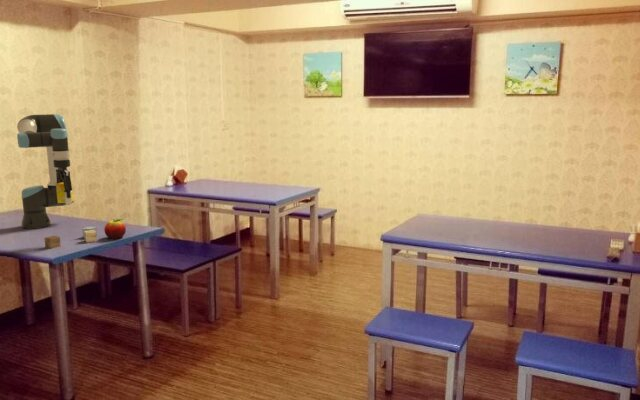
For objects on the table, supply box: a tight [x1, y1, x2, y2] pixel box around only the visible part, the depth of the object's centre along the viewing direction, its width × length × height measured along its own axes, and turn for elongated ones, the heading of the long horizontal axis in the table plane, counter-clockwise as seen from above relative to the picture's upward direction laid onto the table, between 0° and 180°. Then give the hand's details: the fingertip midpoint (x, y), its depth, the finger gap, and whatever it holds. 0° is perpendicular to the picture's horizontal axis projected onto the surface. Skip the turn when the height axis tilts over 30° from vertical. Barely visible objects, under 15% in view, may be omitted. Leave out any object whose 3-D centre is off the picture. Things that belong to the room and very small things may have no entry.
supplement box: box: [56, 181, 75, 206], centre depth 269 cm, size 6×6×11 cm
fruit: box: [103, 218, 127, 240], centre depth 279 cm, size 11×11×10 cm
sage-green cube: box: [82, 226, 98, 239], centre depth 282 cm, size 5×5×5 cm
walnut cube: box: [44, 235, 61, 249], centre depth 263 cm, size 5×5×5 cm
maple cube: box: [84, 230, 98, 243], centre depth 273 cm, size 5×5×5 cm
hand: (65, 202), depth 270 cm, fingers closed on supplement box, 8 cm apart
